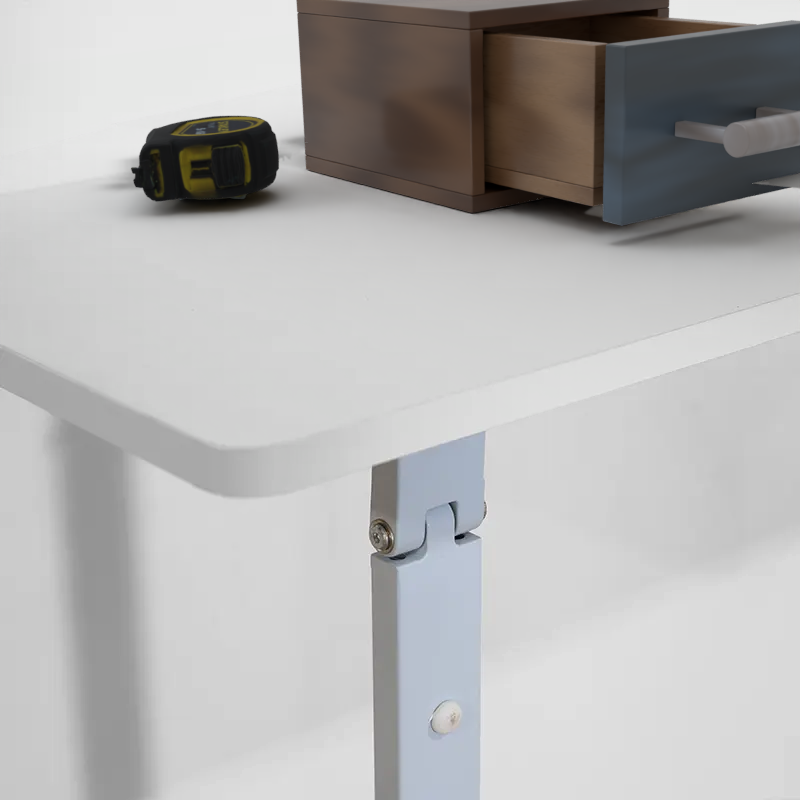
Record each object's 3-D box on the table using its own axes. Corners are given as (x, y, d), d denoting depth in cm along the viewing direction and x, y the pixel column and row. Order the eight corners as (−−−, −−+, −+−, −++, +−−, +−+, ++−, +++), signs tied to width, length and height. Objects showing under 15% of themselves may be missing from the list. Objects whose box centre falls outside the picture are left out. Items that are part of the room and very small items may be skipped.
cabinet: (664, 174, 72) (670, -10, 68) (472, 213, 65) (469, 11, 62) (485, 139, 83) (483, -20, 80) (305, 169, 76) (295, -4, 73)
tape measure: (151, 188, 73) (144, 116, 72) (282, 181, 73) (277, 109, 72) (136, 218, 66) (127, 139, 65) (280, 210, 67) (274, 132, 65)
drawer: (879, 199, 61) (895, 27, 58) (697, 244, 55) (705, 54, 52) (598, 148, 74) (600, 6, 72) (427, 179, 68) (422, 25, 66)
